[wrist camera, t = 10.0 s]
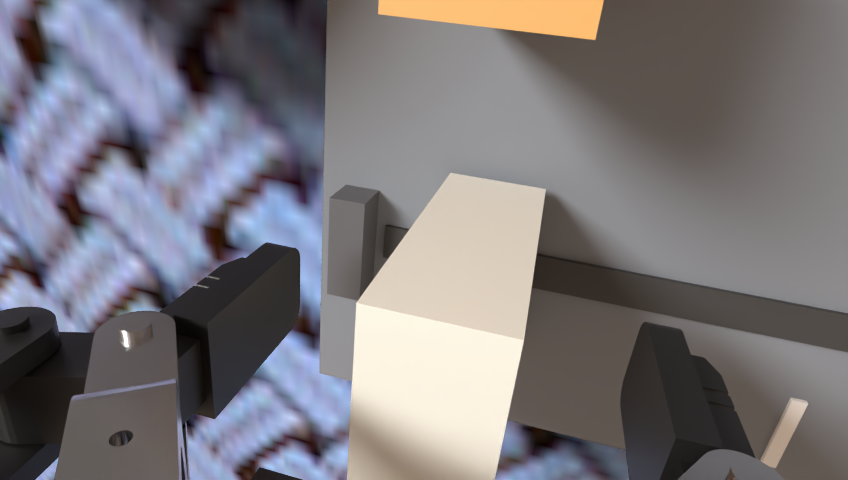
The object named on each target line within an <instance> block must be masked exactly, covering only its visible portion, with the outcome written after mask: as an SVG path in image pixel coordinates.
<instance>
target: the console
mask: <svg viewBox="0 0 848 480" xmlns="http://www.w3.org/2000/svg"><path fill="white" fill-rule="evenodd" d="M378 6H379V0H327V36H326V84H325V132H324V181H323V229H322V278H321V326H320V373H321V374H325V375H329V376H333V377H337V378H341V379H345V380H349V381H352V375H353V356H354V337H355V318H356V303H357V301H358V300H359V299H360V297H361V296H362V294H363V293H364V292H365V290H366V289H367V287H368V286H369V285H370V283H371V282H372V281H373V279H374V278H375V276H376V275H377V274H378V272H379V271H380V270H381V268H382V267H383V265H384V264H385V263H386V261H387V260H388V258H389V257H390V256H391V254H392V253H393V252H394V250H395V249H396V247H397V246H398V245H399V243H400V242H401V241H402V239H403V238H404V236H405V235H406V234H407V232H408V231H409V229H410V228H411V227H412V225H413V224H414V223H415V221H416V220H417V218H418V217H419V216H420V214H421V213H422V211H423V210H424V209H425V207H426V206H427V205H428V203H429V202H430V200H431V199H432V198H433V196H434V195H435V194H436V192H437V191H438V189H439V188H440V187H441V185H442V184H443V182H444V181H445V180H446V178H447V177H448V176H449V174H450V173H455V174H461V175H467V176H473V177H478V178H484V179H490V180H496V181H502V182H508V183H514V184H519V185H525V186H531V187H537V188H543V189H546V192H545V199H544V206H543V213H542V220H541V227H540V233H539V240H538V247H537V254H536V261H535V268H534V275H533V282H532V289H531V295H530V302H529V309H528V316H527V323H526V330H525V337H524V343H523V347H522V352H521V357H520V362H519V366H518V371H517V376H516V380H515V385H514V390H513V395H512V399H511V404H510V409H509V414H508V418H507V420H508V421H512V422H516V423H520V424H524V425H528V426H532V427H536V428H540V429H544V430H548V431H552V432H556V433H560V434H564V435H568V436H572V437H576V438H580V439H584V440H588V441H592V442H596V443H600V444H604V445H608V446H612V447H616V448H620V449H624V450H626V448H625V440H624V433H623V425H622V417H621V409H620V397H621V389H622V384H623V380H624V376H625V373H626V370H627V367H628V364H629V361H630V358H631V354H632V351H633V348H634V345H635V342H636V339H637V336H638V333H639V330H640V327H641V325H642V324H643V323H644V322H649V323H654V324H659V325H664V326H669V327H673V328H678V329H681V330H682V331H683V334H684V336H685V339H686V342H687V345H688V348H689V351H690V353H691V355H695V356H700V357H704V358H705V359H706V360H707V361H708V362H709V363H710V364H711V365H712V366H713V367H714V368H715V369H716V370H717V371H718V372H719V373H720V374H721V375H722V378H723V380H724V383H725V385H726V388H727V390H728V392H729V393H728V396H730V397H731V400H732V402H733V404H734V407H735V408H734V411H736V412H737V414H738V416H739V419H740V421H741V424H742V426H743V429H744V431H745V433H746V436H747V438H748V441H749V443H750V445H751V448H752V450H753V453H754V455H755V458H756V459H758V460H759V461H761V462H763V463H765V464H766V465H768V466H769V467H771V468H772V469H773V470H775V471H776V472H777V473H778V474H779V475H780V476H782V477H783V478H784V479H785V480H848V0H604V2H603V7H602V11H601V16H600V20H599V25H598V30H597V34H596V39H595V40H591V39H583V38H574V37H566V36H557V35H549V34H541V33H532V32H524V31H515V30H507V29H499V28H490V27H482V26H473V25H465V24H457V23H448V22H440V21H431V20H423V19H415V18H406V17H398V16H389V15H381V14H378Z"/></svg>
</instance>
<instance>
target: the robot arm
mask: <svg viewBox="0 0 848 480" xmlns="http://www.w3.org/2000/svg"><path fill="white" fill-rule="evenodd" d="M299 308H300V254H299V251H298V250H297V249H296V248H292V247H287V246H282V245H277V244H272V243H265V244H263V245H262V246H261V247H259V248H258V249H257V250H256V251H254V252H253V253H252V254H250V255H249V256H248V257H247V258H243V257H242V258H239V259H236V260H234V261H231V262H228V263H226V264H223V265H221V266H220V267H219V268H217V269H216V270H215V271H213V272H212V273H211V274H209V275H208V278H206V277H205V278H204V279H202V280H201V281H200V282H198V283H197V285H196V286H193V287H192V288H190V289H189V290H188V291H186V292H185V293H184V294H182V295H181V296H180V297H178V298H177V299H176V300H174V301H173V302H172V303H170V304H169V305H168V306H166V307H165V308H164V309H162V310H161V311H160V312H156V311H137V312H130V313H126V314H123V315H120V316H117V317H114V318H112V319H110V320H108V321H107V322H105V323H104V324H102V325H101V326H100V327H99V328H98V329H97V330H96V332H95V333H80V332H59V331H58V326H57V321H56V317H55V315H54V313H52V312H51V311H49V310H47V309H44V308H39V307H18V308H12V309H7V310H3V311H0V480H35V479H36V478H37V477H38V476H39V475H40V474H42V473H43V472H44V471H45V470H46V469H47V468H48V467H49V466H50V465H51V464H52V463H53V462H54V461H55V460H56V459H57V458H58V457H59V459H58V464H57V468H56V473H55V478H54V480H190V477H189V459H188V441H187V427H186V421H187V420H188V419H189V418H190V417H191V415H192V414H193V413H194V414H198V415H202V416H205V417H209V418H213V419H215V418H216V417H217V416H218V415H219V414H220V413H221V411H222V410H223V409H224V408H225V407H226V406H227V404H228V403H229V402H230V401H231V400H232V399H233V397H234V396H235V395H236V394H237V393H238V392H239V390H240V389H241V388H242V387H243V386H244V384H245V383H246V382H247V381H248V380H249V379H250V377H251V376H252V375H253V374H254V373H255V372H256V370H257V369H258V368H259V367H260V366H261V365H262V363H263V362H264V361H265V360H266V359H267V358H268V356H269V355H270V354H271V353H272V352H273V351H274V349H275V348H276V347H277V346H278V345H279V344H280V342H281V341H282V340H283V339H284V338H285V337H286V335H287V334H288V333H289V332H290V331H291V329H292V328H293V326H294V324H295V322H296V320H297V317H298V313H299ZM728 393H729V392H728V390H727V388H726V385H725V383H724V380H723V378H722V375H721V374H720V373H719V372H718V371H717V370H716V369H715V368H714V367H713V366H712V365H711V364H710V363H709V362H708V361H707V360H706V359H705V358H704V357H700V356H695V355H691V353H690V351H689V348H688V345H687V342H686V339H685V336H684V334H683V331H682V330H681V329H678V328H673V327H669V326H664V325H659V324H654V323H649V322H644V323H643V324H642V325H641V327H640V330H639V333H638V336H637V339H636V342H635V345H634V348H633V351H632V354H631V358H630V361H629V364H628V367H627V370H626V373H625V376H624V380H623V384H622V389H621V397H620V409H621V417H622V425H623V433H624V440H625V448H626V456H627V464H628V471H629V479H630V480H785V479H784V478H783V477H782V476H780V475H779V474H778V473H777V472H776V471H775V470H773V469H772V468H771V467H769V466H768V465H766V464H765V463H763V462H761V461H759V460H758V459H756V458H755V455H754V453H753V450H752V448H751V445H750V443H749V441H748V438H747V436H746V433H745V431H744V429H743V426H742V424H741V421H740V419H739V416H738V414H737V412H736V411H734V408H735V407H734V404H733V402H732V400H731V397H730V396H728ZM252 480H302V479H298V478H295V477H291V476H288V475H284V474H281V473H278V472H274V471H271V470H267V469H264V468H259V469H258V471H257V472H256V474H255V475H254V477H253V478H252Z"/></svg>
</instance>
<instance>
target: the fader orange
mask: <svg viewBox="0 0 848 480" xmlns="http://www.w3.org/2000/svg"><path fill="white" fill-rule="evenodd" d="M603 2H604V0H379V6H378V14H381V15H389V16H398V17H406V18H415V19H423V20H431V21H440V22H448V23H457V24H465V25H473V26H482V27H490V28H499V29H507V30H515V31H524V32H532V33H541V34H549V35H557V36H566V37H574V38H583V39H591V40H595V39H596V34H597V30H598V25H599V20H600V16H601V11H602V7H603Z"/></svg>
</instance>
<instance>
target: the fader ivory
mask: <svg viewBox="0 0 848 480" xmlns="http://www.w3.org/2000/svg"><path fill="white" fill-rule="evenodd" d="M545 192H546V189H543V188H537V187H531V186H525V185H519V184H514V183H508V182H502V181H496V180H490V179H484V178H478V177H473V176H467V175H461V174H455V173H450V174H449V176H448V177H447V178H446V180H445V181H444V182H443V184H442V185H441V187H440V188H439V189H438V191H437V192H436V194H435V195H434V196H433V198H432V199H431V200H430V202H429V203H428V205H427V206H426V207H425V209H424V210H423V211H422V213H421V214H420V216H419V217H418V218H417V220H416V221H415V223H414V224H413V225H412V227H411V228H410V229H409V231H408V232H407V234H406V235H405V236H404V238H403V239H402V241H401V242H400V243H399V245H398V246H397V247H396V249H395V250H394V252H393V253H392V254H391V256H390V257H389V258H388V260H387V261H386V263H385V264H384V265H383V267H382V268H381V270H380V271H379V272H378V274H377V275H376V276H375V278H374V279H373V281H372V282H371V283H370V285H369V286H368V287H367V289H366V290H365V292H364V293H363V294H362V296H361V297H360V299H359V300H358V301H357V303H356V318H355V337H354V356H353V375H352V394H351V413H350V432H349V451H348V470H347V480H495V475H496V470H497V465H498V461H499V456H500V451H501V447H502V442H503V437H504V432H505V428H506V423H507V418H508V414H509V409H510V404H511V399H512V395H513V390H514V385H515V380H516V376H517V371H518V366H519V362H520V357H521V352H522V347H523V343H524V337H525V330H526V323H527V316H528V309H529V302H530V295H531V289H532V282H533V275H534V268H535V261H536V254H537V247H538V240H539V233H540V227H541V220H542V213H543V206H544V199H545Z"/></svg>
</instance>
